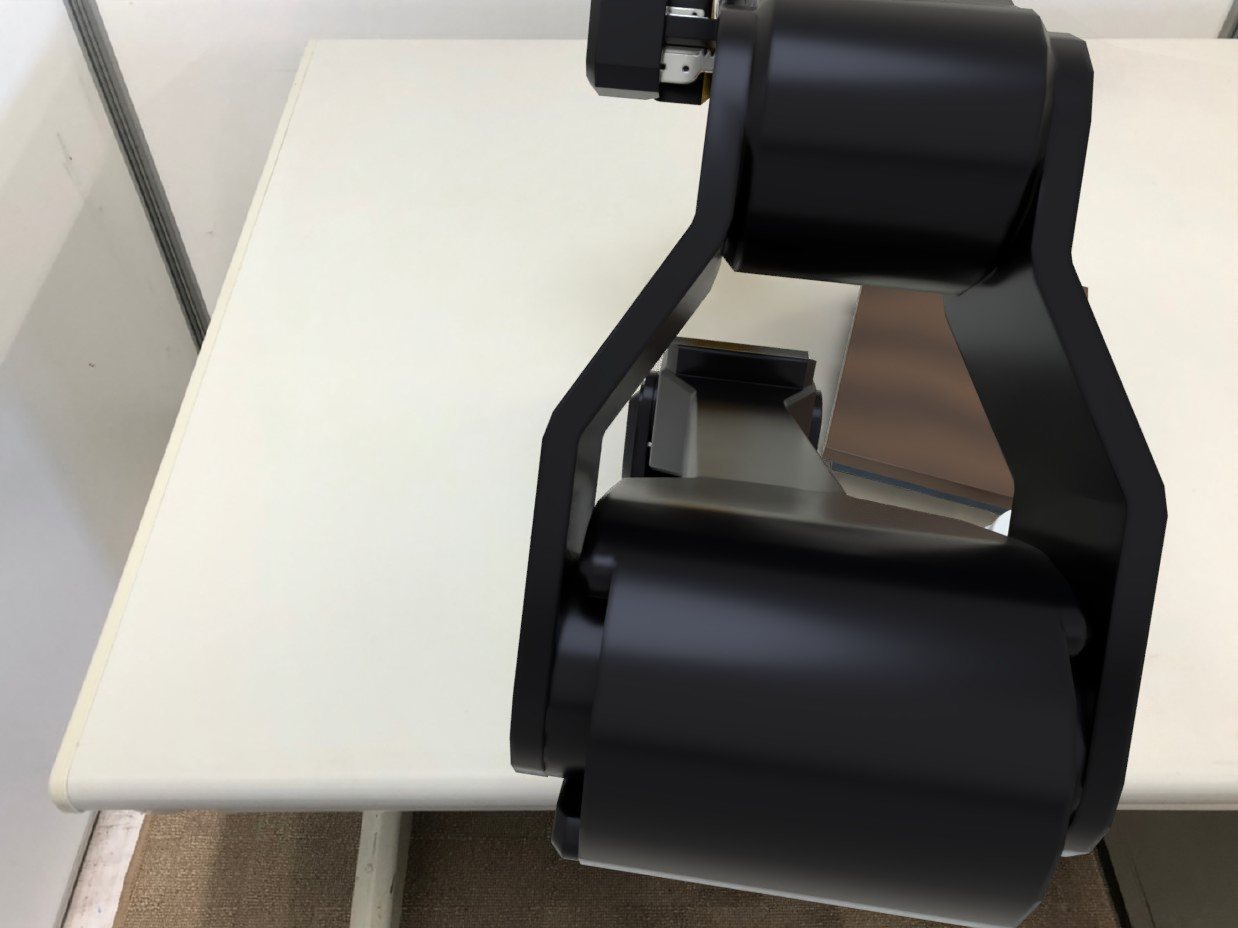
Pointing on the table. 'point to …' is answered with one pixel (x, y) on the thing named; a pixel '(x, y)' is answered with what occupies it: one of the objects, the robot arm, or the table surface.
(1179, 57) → the table surface
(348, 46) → the table surface
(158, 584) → the table surface
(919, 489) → the board
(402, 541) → the table surface
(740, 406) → the robot arm
